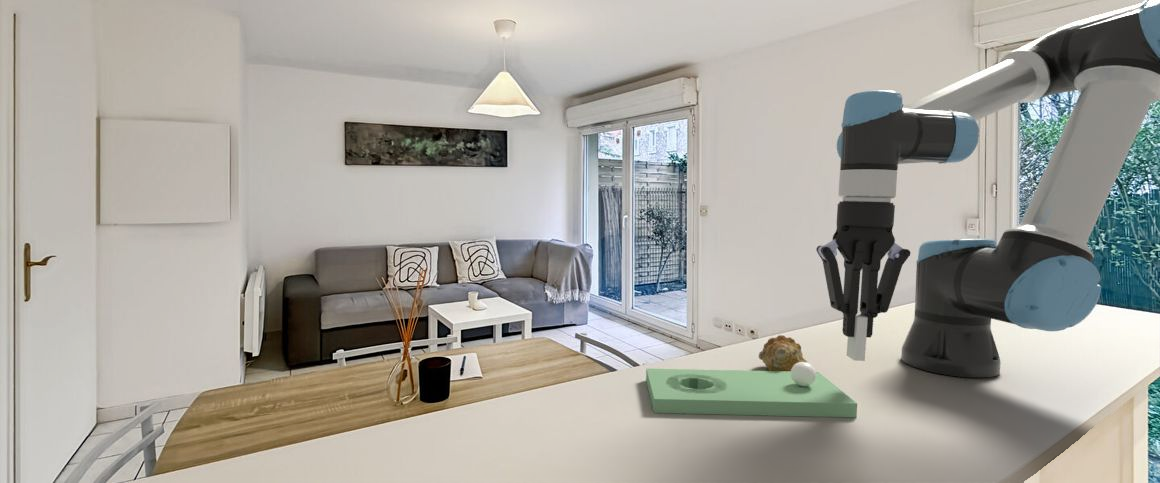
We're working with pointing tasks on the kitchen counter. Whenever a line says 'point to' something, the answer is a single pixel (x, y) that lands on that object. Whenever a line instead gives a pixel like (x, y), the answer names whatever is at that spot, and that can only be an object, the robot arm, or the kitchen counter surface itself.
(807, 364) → the ball
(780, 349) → the seashell
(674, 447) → the kitchen counter surface
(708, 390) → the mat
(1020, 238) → the robot arm
